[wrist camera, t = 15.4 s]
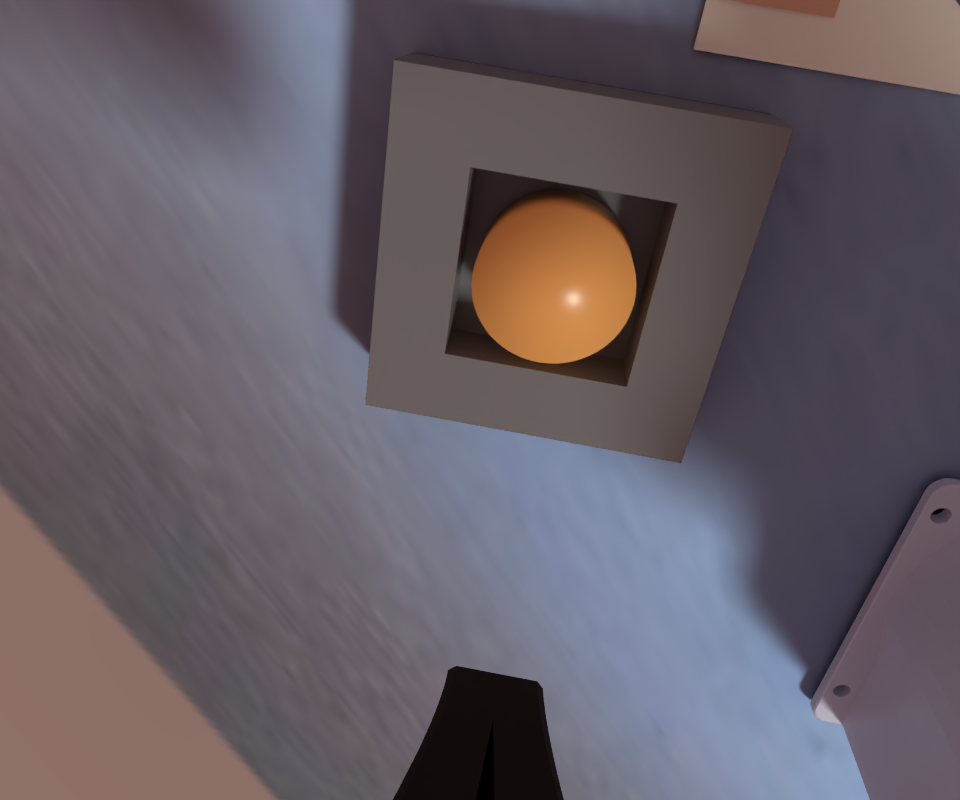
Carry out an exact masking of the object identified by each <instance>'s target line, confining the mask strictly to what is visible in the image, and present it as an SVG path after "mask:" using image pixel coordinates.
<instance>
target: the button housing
mask: <svg viewBox="0 0 960 800" xmlns="http://www.w3.org/2000/svg"><path fill="white" fill-rule="evenodd" d="M792 132H793V128H791V127H790V126H788V125H787V124H785V123H784V122H782V121H781V120H779V119H777V118H776V117H774V116H773V115H771V114H767V113H761V112H755V111H749V110H744V109H738V108H732V107H726V106H720V105H715V104H709V103H703V102H697V101H691V100H685V99H680V98H674V97H668V96H662V95H656V94H651V93H645V92H639V91H633V90H627V89H621V88H616V87H610V86H604V85H598V84H592V83H587V82H581V81H575V80H569V79H563V78H557V77H552V76H546V75H540V74H534V73H528V72H523V71H517V70H511V69H505V68H499V67H493V66H488V65H482V64H476V63H470V62H464V61H459V60H453V59H447V58H441V57H435V56H429V55H424V54H418V53H411V54H408V55H406V56H403V57H400V58H398V59H395V60H394V65H393V77H392V89H391V101H390V113H389V126H388V138H387V150H386V162H385V174H384V186H383V198H382V211H381V223H380V235H379V247H378V259H377V271H376V284H375V296H374V308H373V320H372V332H371V344H370V356H369V369H368V381H367V393H366V405H370V406H375V407H381V408H386V409H392V410H397V411H402V412H408V413H413V414H419V415H424V416H430V417H435V418H440V419H446V420H451V421H457V422H462V423H467V424H473V425H478V426H484V427H489V428H494V429H500V430H505V431H511V432H516V433H522V434H527V435H532V436H538V437H543V438H549V439H554V440H559V441H565V442H570V443H576V444H581V445H586V446H592V447H597V448H603V449H608V450H614V451H619V452H624V453H630V454H635V455H641V456H646V457H651V458H657V459H662V460H668V461H673V462H678V463H681V462H682V459H683V456H684V453H685V450H686V447H687V444H688V441H689V438H690V435H691V432H692V429H693V426H694V423H695V420H696V417H697V414H698V411H699V408H700V405H701V402H702V399H703V396H704V393H705V390H706V387H707V385H708V382H709V379H710V376H711V373H712V370H713V367H714V364H715V361H716V358H717V355H718V352H719V349H720V346H721V343H722V340H723V337H724V334H725V331H726V328H727V325H728V322H729V319H730V316H731V313H732V310H733V307H734V304H735V301H736V298H737V295H738V292H739V290H740V287H741V284H742V281H743V278H744V275H745V272H746V269H747V266H748V263H749V260H750V257H751V254H752V251H753V248H754V245H755V242H756V239H757V236H758V233H759V230H760V227H761V224H762V221H763V218H764V215H765V212H766V209H767V206H768V203H769V200H770V197H771V194H772V192H773V189H774V186H775V183H776V180H777V177H778V174H779V171H780V168H781V165H782V162H783V159H784V156H785V153H786V150H787V147H788V144H789V141H790V138H791V135H792ZM545 190H568V191H573V192H577V193H581V194H583V195H586V196H589V197H591V198H593V199H594V200H596V201H598V202H599V203H601V204H602V205H603V206H605V207H606V208H607V209H608V210H609V211H610V212H611V213H612V214H613V215H614V216H615V217H616V218H617V220H618V221H619V222H620V224H621V226H622V227H623V229H624V231H625V233H626V236H627V238H628V241H629V245H630V249H631V254H632V259H633V263H634V268H635V273H636V297H635V302H634V306H633V309H632V312H631V314H630V316H629V318H628V320H627V322H626V324H625V325H624V327H623V328H622V330H621V331H620V333H619V334H618V335H617V336H616V337H615V338H614V339H613V340H612V341H611V342H610V343H609V344H608V345H606V346H605V347H604V348H602V349H601V350H599V351H598V352H596V353H594V354H592V355H590V356H588V357H585V358H582V359H580V360H576V361H572V362H567V363H558V364H556V363H540V362H535V361H531V360H527V359H524V358H522V357H519V356H517V355H515V354H513V353H511V352H509V351H508V350H506V349H505V348H503V347H502V346H501V345H500V344H498V343H497V342H496V341H495V340H494V339H493V338H492V337H491V336H490V335H489V333H488V332H487V331H486V329H485V328H484V326H483V325H482V323H481V321H480V319H479V317H478V315H477V313H476V310H475V307H474V303H473V298H472V288H471V283H472V274H473V269H474V265H475V262H476V259H477V257H478V254H479V251H480V248H481V246H482V243H483V240H484V237H485V235H486V233H487V231H488V229H489V227H490V225H491V224H492V223H493V221H494V220H495V218H496V217H497V216H498V215H499V214H500V213H501V212H502V211H503V210H504V209H505V208H506V207H508V206H509V205H510V204H512V203H513V202H515V201H516V200H518V199H520V198H522V197H524V196H526V195H529V194H532V193H535V192H539V191H545Z"/></svg>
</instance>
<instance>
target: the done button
mask: <svg viewBox="0 0 960 800" xmlns="http://www.w3.org/2000/svg"><path fill="white" fill-rule="evenodd" d="M471 288H472V298H473V303H474V307H475V310H476V313H477V315H478V317H479V319H480V321H481V323H482V325H483V326H484V328H485V329H486V331H487V332H488V333H489V335H490V336H491V337H492V338H493V339H494V340H495V341H496V342H497V343H498V344H500V345H501V346H502V347H503V348H505V349H506V350H508V351H509V352H511V353H513V354H515V355H517V356H519V357H522V358H524V359H527V360H531V361H535V362H540V363H556V364H558V363H567V362H572V361H576V360H580V359H582V358H585V357H588V356H590V355H592V354H594V353H596V352H598V351H599V350H601V349H602V348H604V347H605V346H606V345H608V344H609V343H610V342H611V341H612V340H613V339H614V338H615V337H616V336H617V335H618V334H619V333H620V331H621V330H622V328H623V327H624V325H625V324H626V322H627V320H628V318H629V316H630V314H631V312H632V309H633V306H634V302H635V297H636V273H635V268H634V263H633V259H632V254H631V249H630V245H629V241H628V238H627V236H626V233H625V231H624V229H623V227H622V226H621V224H620V222H619V221H618V220H617V218H616V217H615V216H614V215H613V214H612V213H611V212H610V211H609V210H608V209H607V208H606V207H605V206H603V205H602V204H601V203H599V202H598V201H596V200H594V199H593V198H591V197H589V196H586V195H583V194H581V193H577V192H573V191H568V190H545V191H539V192H535V193H532V194H529V195H526V196H524V197H522V198H520V199H518V200H516V201H515V202H513V203H512V204H510V205H509V206H508V207H506V208H505V209H504V210H503V211H502V212H501V213H500V214H499V215H498V216H497V217H496V218H495V220H494V221H493V223H492V224H491V225H490V227H489V229H488V231H487V233H486V235H485V237H484V240H483V243H482V246H481V248H480V251H479V254H478V257H477V259H476V262H475V265H474V269H473V274H472V283H471Z"/></svg>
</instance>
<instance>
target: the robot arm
mask: <svg viewBox="0 0 960 800" xmlns="http://www.w3.org/2000/svg"><path fill="white" fill-rule="evenodd" d="M939 508H945V509H944V510H943V511H942V512H941V513H939V514H936V515H931V514H932V513H933V512H934V511H935V510H937V509H939ZM839 685H842V686H839ZM811 707H812V710H813V713H814V716H816V717H817V718H818V719H820V720H823V721H827V722H832V723H838V724H843V727H844V730H845V732H846V735H847V738H848V741H849V743H850V746H851V749H852V752H853V754H854V757H855V760H856V763H857V765H858V768H859V771H860V774H861V776H862V779H863V782H864V785H865V787H866V790H867V793H868V796H869V798H870V800H960V480H958V479H953V478H943V479H940V480H936V481H935V482H933V483H932V484H930V485H929V486H928V487H927V489H926V490H925V492H924V493H923V495H922V497H921V499H920V501H919V503H918V504H917V506H916V508H915V510H914V512H913V514H912V515H911V517H910V519H909V521H908V523H907V525H906V527H905V528H904V530H903V532H902V534H901V536H900V538H899V539H898V541H897V543H896V545H895V547H894V549H893V550H892V552H891V554H890V556H889V558H888V560H887V562H886V563H885V565H884V567H883V569H882V571H881V573H880V574H879V576H878V578H877V580H876V582H875V584H874V586H873V587H872V589H871V591H870V593H869V595H868V597H867V598H866V600H865V602H864V604H863V606H862V608H861V609H860V611H859V613H858V615H857V617H856V619H855V621H854V622H853V624H852V626H851V628H850V630H849V632H848V633H847V635H846V637H845V639H844V641H843V643H842V644H841V646H840V648H839V650H838V652H837V654H836V656H835V657H834V659H833V661H832V663H831V665H830V667H829V668H828V670H827V672H826V674H825V676H824V678H823V680H822V681H821V683H820V685H819V687H818V689H817V691H816V692H815V694H814V696H813V698H812V700H811ZM393 800H564V799H563V796H562V792H561V787H560V783H559V779H558V775H557V771H556V766H555V762H554V757H553V753H552V748H551V743H550V738H549V733H548V727H547V721H546V714H545V707H544V699H543V688H542V687H541V686H540V685H539V683H538V682H537V681H532V680H527V679H522V678H516V677H511V676H506V675H501V674H496V673H490V672H485V671H480V670H475V669H470V668H464V667H459V666H456V667H454V668H452V669H449V670H448V674H447V678H446V682H445V686H444V689H443V692H442V695H441V698H440V701H439V704H438V706H437V709H436V712H435V714H434V717H433V719H432V721H431V724H430V726H429V728H428V730H427V733H426V735H425V737H424V739H423V742H422V744H421V746H420V748H419V750H418V752H417V754H416V756H415V758H414V760H413V762H412V764H411V766H410V768H409V770H408V772H407V774H406V776H405V778H404V780H403V782H402V784H401V785H400V787H399V789H398V791H397V793H396V795H395V797H394V799H393Z"/></svg>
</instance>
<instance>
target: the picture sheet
mask: <svg viewBox="0 0 960 800" xmlns="http://www.w3.org/2000/svg"><path fill="white" fill-rule="evenodd" d="M693 49H694V50H700V51H706V52H712V53H717V54H723V55H729V56H735V57H741V58H747V59H753V60H759V61H765V62H770V63H776V64H782V65H788V66H794V67H800V68H806V69H812V70H817V71H823V72H829V73H835V74H841V75H847V76H853V77H859V78H865V79H870V80H876V81H882V82H888V83H894V84H900V85H906V86H912V87H917V88H923V89H929V90H935V91H941V92H947V93H953V94H959V95H960V0H706V2H705V6H704V9H703V13H702V17H701V21H700V25H699V29H698V32H697V36H696V40H695V44H694V48H693Z"/></svg>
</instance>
